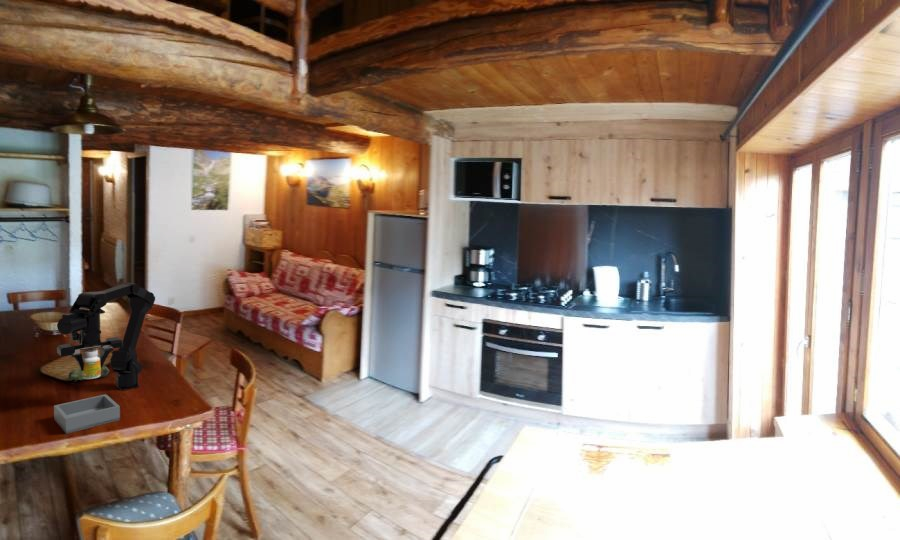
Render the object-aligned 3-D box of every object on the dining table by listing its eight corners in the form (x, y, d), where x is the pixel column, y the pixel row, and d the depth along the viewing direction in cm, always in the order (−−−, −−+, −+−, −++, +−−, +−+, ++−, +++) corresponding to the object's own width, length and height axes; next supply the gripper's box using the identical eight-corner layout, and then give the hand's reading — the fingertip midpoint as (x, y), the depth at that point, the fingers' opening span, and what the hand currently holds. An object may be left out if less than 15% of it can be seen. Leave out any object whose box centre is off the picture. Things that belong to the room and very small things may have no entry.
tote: (106, 407, 176) (106, 394, 176) (120, 419, 168) (119, 406, 167) (54, 419, 165) (53, 405, 164) (66, 433, 156) (65, 419, 155)
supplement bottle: (86, 380, 174) (85, 354, 173) (79, 376, 177) (79, 351, 176) (103, 376, 179) (103, 351, 177) (96, 373, 181) (96, 348, 180)
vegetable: (69, 384, 194) (68, 372, 193) (67, 380, 198) (67, 368, 197) (111, 377, 203) (111, 366, 203) (109, 374, 207) (109, 362, 207)
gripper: (113, 319, 188) (113, 358, 190) (52, 326, 173) (53, 368, 175) (123, 325, 181) (123, 365, 183) (60, 333, 166) (62, 377, 168)
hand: (91, 368), depth 177 cm, fingers closed on supplement bottle, 5 cm apart
